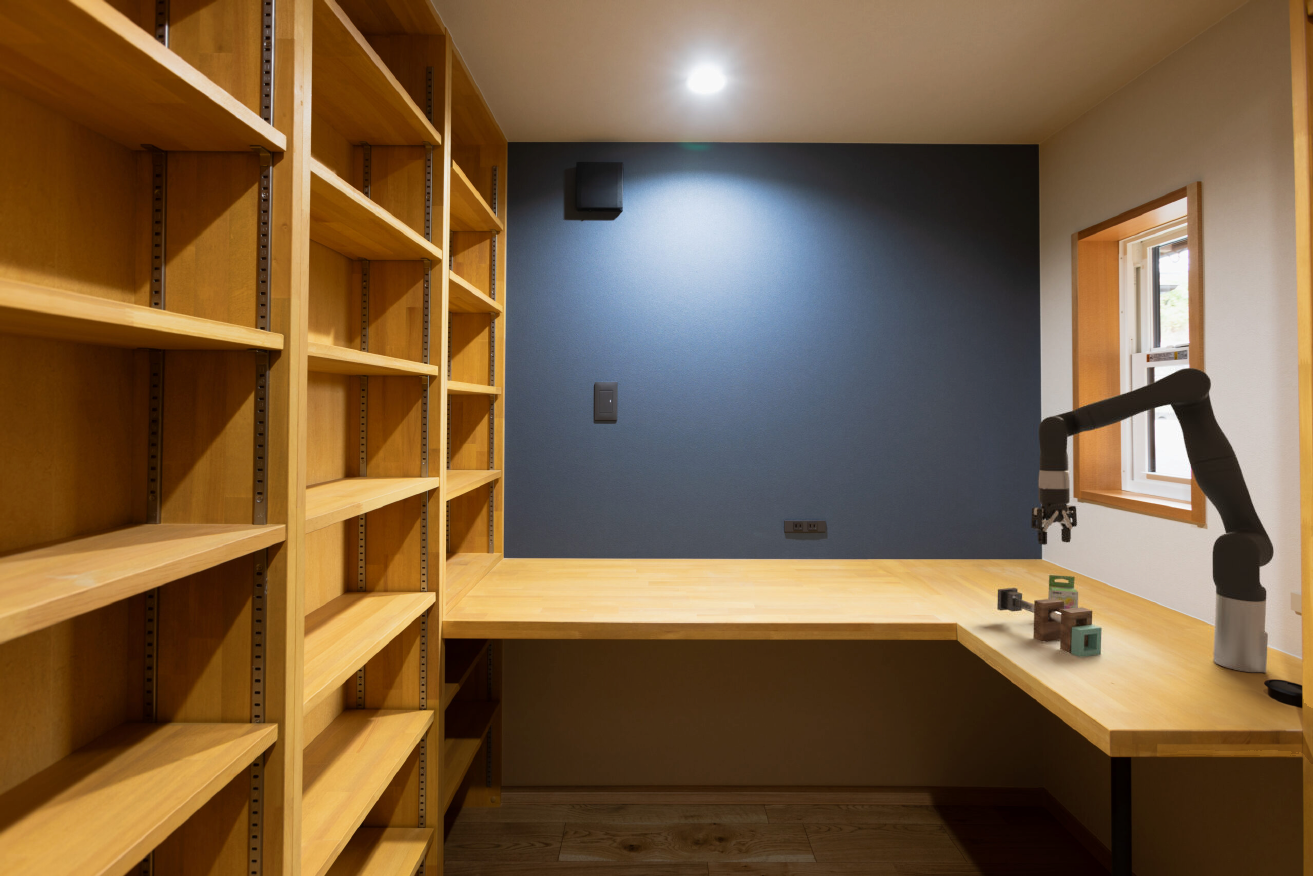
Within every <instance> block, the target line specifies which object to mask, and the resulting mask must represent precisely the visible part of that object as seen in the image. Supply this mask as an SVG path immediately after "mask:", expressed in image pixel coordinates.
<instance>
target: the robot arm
mask: <svg viewBox="0 0 1313 876" xmlns="http://www.w3.org/2000/svg"><path fill="white" fill-rule="evenodd" d="M1211 388H1212V381H1211V378H1210V376H1209V375H1208V374H1207V373H1206V372H1204V371H1203V370H1201V369H1198V368H1193V367H1188V368H1181V369H1179V370H1175V372H1173V373H1170V374H1168V375H1167V376H1164V377H1162V378H1160V379H1158V380H1155V381H1154V382H1151V383H1149V384H1146V385H1144V386H1142V387H1139V388H1137V389H1134V390H1131V391H1128V392H1125V393H1122V394H1118V395H1115V396H1111V397H1109V398H1105V399H1101V400H1098V401H1095V402H1092V403H1089V404H1086V405H1083V406H1080V407H1079V408H1076V409H1074V410H1070V411H1067V412H1064V413H1060V414H1056V415H1052V416H1048V417H1046V418H1044V419H1042V420H1041V422H1040V423H1039V426H1038V439H1039V441H1038V442H1039V450H1040V452H1039V474H1038V501H1039V503H1040V504H1041V506H1040V508H1039V507H1032V508H1031V521H1030V522H1031V524H1030V527H1031V529H1033V530H1036V531H1037V542H1038V544H1040V545H1045V546H1046V545H1048V531H1047V530H1048V528H1049V527H1050V526H1051V525H1052V524H1053V523H1058V524H1059V525H1060V527H1061V530H1060V531H1061V534H1060V535H1061V536H1060V537H1061V542H1062V543H1071V539H1072V529H1073V528H1074V527H1075V528H1076V527H1077V526H1078V520H1077V517H1078V516H1077V506H1076V505H1070V504H1069V503H1070V499H1071V497H1070V491H1071V490H1070V474H1069V473H1070V472H1069V454H1068V438H1069V437H1072V436H1074V435H1078V434H1080V433H1083V432H1089V431H1094V430H1098V429H1100V428H1104V427H1108V426H1110V425H1114V424H1116V423H1118V422H1121V421H1125V420H1127V419H1129V418H1131V417H1134V416H1137V415H1139V414H1142V413H1144V412H1147V411H1150V410H1153V409H1156V408H1160V407H1164V406H1169V405H1170V406H1171V408H1172V411H1173V413H1174V415H1175V416H1176V419H1177V421H1178V423H1179V426H1180V428H1181V433H1182V436H1183V443H1184V447H1185V451H1186V455H1187V458H1188V461H1189V465H1190V468H1191V471H1192V473H1193V477H1194V479H1195V482H1196V483H1197V485H1198V487H1199V489H1200V490H1201V491H1202V492H1203V494H1204V495H1205V496H1206V498H1207V499H1208V500H1209V502H1210V503H1211V504H1212V505H1213V506H1214V507H1215V509H1216V511H1217V513H1218V514H1219V517H1220V519H1221V521H1222V525H1223V527H1224V531H1225V533H1223V534H1221V535H1219V536H1218V537H1217V539H1215V541H1214V544H1213V548H1212V580H1213V583H1214V586H1215V589H1216V590H1215V609H1214V610H1215V611H1214V612H1215V613H1214V634H1213V635H1214V637H1213V662H1214V664H1217V665H1220V667H1221V666H1222V667H1224V668H1227V669H1230V670H1235V671H1240V672H1245V673H1265V674H1266V673H1267V667H1268V666H1267V661H1268V643H1269V642H1268V641H1269V639H1268V638H1269V635H1268V632H1266V612H1267V611H1266V610H1267V609H1266V608H1267V589H1266V588H1265V587H1264V585H1263V584H1261V579H1260V578H1261V574H1260V572H1261V569H1260V568H1261V567H1265V566H1266V565H1268V564H1269V563H1270V562H1271V561H1272V559H1273V558H1274V546H1273V543H1272V540H1271V539H1270V536H1269V534H1268V533H1267V531H1266V529H1265V527H1264V525H1263V524H1262V521H1261V518H1260V517H1259V515H1258V513H1257V511H1256V509H1255V508H1256V507H1255V506H1254V503H1253V501H1252V498H1251V497H1252V496H1251V495H1250V491H1249V488H1248V486H1247V483H1246V481H1245V477H1244V475H1243V474H1244V473H1243V472H1242V471H1243V470H1242V468H1241V466H1240V463H1239V460H1238V457H1237V455H1236V453H1235V452H1236V451H1234V448H1233V446H1232V445H1231V442H1230V441H1229V439H1228V437H1227V435H1226V434H1225V433H1224V431H1223V429H1222V428H1221V426H1220V425H1219V423H1218V421H1217V419H1216V415H1215V414H1214V413H1215V412H1214V410H1213V405H1212V402H1211V396H1210V390H1211ZM1068 504H1069V505H1068Z"/></svg>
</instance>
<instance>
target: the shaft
mask: <svg viewBox="0 0 1313 876" xmlns="http://www.w3.org/2000/svg"><path fill="white" fill-rule="evenodd" d="M996 603H997V604H996V605H997V607H996V609H997V611H1010V612H1019V611H1022V610H1025V611H1027V612H1030V613H1033V614H1034V602H1033V603H1032V602H1029V601H1026V600H1023V593H1021V592H1018V588H1016V587H1007V588H999V589H997V602H996ZM1048 618H1049V619H1052V620H1055V621H1057V622H1060V623H1061V613H1058V612H1056V611H1053V610H1050V609H1048ZM1078 624H1079V621H1078V619H1076V627H1077V626H1078Z"/></svg>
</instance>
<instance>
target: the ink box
mask: <svg viewBox="0 0 1313 876" xmlns="http://www.w3.org/2000/svg"><path fill="white" fill-rule="evenodd" d="M1055 580H1065V581H1068V582H1061V581H1055ZM1052 598H1055V599H1058V600H1062V601H1064V609H1070V608H1079V592H1078V590H1076V588H1075V576H1071V575H1069V576H1068V575H1055V574H1049V575H1048V598H1047V599H1052Z"/></svg>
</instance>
